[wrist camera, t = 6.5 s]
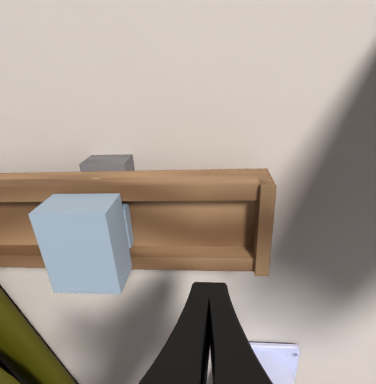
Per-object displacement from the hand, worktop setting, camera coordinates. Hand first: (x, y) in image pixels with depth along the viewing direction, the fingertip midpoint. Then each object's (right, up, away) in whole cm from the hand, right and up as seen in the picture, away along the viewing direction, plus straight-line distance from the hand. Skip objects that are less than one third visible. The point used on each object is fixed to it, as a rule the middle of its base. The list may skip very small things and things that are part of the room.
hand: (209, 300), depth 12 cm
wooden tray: (-6, +4, +10) cm, 12 cm away
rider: (-7, +3, +6) cm, 9 cm away
